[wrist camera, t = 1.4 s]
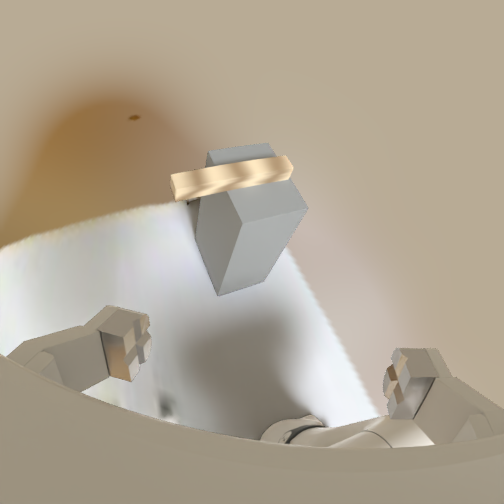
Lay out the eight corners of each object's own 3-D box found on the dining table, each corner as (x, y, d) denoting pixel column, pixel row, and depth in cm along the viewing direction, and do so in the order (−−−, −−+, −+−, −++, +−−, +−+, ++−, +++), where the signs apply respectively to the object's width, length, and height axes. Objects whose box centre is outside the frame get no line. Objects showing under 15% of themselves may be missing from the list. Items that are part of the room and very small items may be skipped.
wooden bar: (175, 202, 47) (175, 189, 44) (170, 187, 48) (170, 174, 45) (288, 179, 54) (293, 167, 51) (280, 167, 55) (285, 155, 53)
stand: (217, 296, 73) (242, 223, 47) (195, 239, 79) (208, 151, 53) (263, 281, 77) (308, 208, 52) (238, 228, 83) (268, 142, 58)
